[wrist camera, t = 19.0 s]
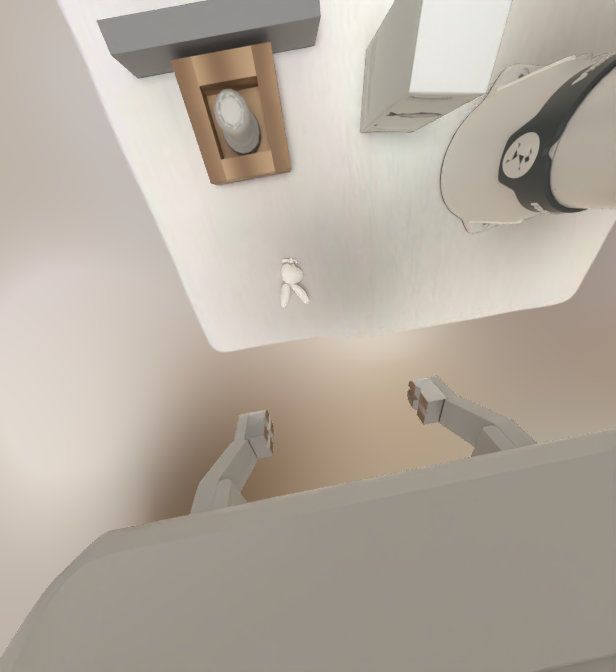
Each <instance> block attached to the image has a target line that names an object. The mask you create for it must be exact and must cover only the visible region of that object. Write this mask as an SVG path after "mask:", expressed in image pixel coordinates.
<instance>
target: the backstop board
mask: <svg viewBox="0 0 616 672" xmlns="http://www.w3.org/2000/svg"><path fill="white" fill-rule="evenodd" d="M320 17H321V15H320V3H319V0H207V1H201V2H196V3H190V4H185V5H179V6H174V7H168V8H163V9H157V10H152V11H146V12H141V13H135V14H130V15H124V16H119V17H113V18H108V19H102V20H97V23H98V25H99V28H100V30H101V32H102V35H103V37H104V39H105V42H106V44H107V47H108V49H109V51H110V54H111V55H112V56H113V57H114V58H115V59H116V60H117V61H119V62H120V63H121V64H122V65H123V66H124V67H125V68H127V69H128V70H129V71H130V72H131V73H132V74H133V75H135V76H136V77H137V78H142V77H148V76H153V75H159V74H164V73H169V72H174V69H173V66H172V63H171V60H175V59H181V58H186V57H191V56H197V55H202V54H208V53H213V52H218V51H224V50H229V49H235V48H240V47H246V46H251V45H256V44H262V43H267V42H271V47H272V53H278V52H283V51H288V50H294V49H299V48H305V47H310V46H314V44H315V40H316V35H317V31H318V26H319V21H320Z"/></svg>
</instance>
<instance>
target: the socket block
mask: <svg viewBox="0 0 616 672" xmlns="http://www.w3.org/2000/svg"><path fill="white" fill-rule="evenodd" d="M171 63H172V66H173V69H174V72H175V75H176V78H177V82H178V85H179V88H180V91H181V94H182V97H183V100H184V103H185V106H186V109H187V112H188V115H189V118H190V121H191V124H192V127H193V130H194V133H195V136H196V139H197V142H198V145H199V148H200V151H201V154H202V158H203V161H204V164H205V167H206V170H207V173H208V176H209V179H210V182H211V183H212V184H215V185H222V184H227V183H232V182H238V181H243V180H248V179H254V178H259V177H264V176H269V175H275V174H280V173H285V172H290V170H291V165H290V159H289V153H288V147H287V141H286V134H285V128H284V122H283V116H282V109H281V103H280V97H279V91H278V85H277V78H276V72H275V66H274V60H273V54H272V47H271V42H267V43H262V44H256V45H251V46H246V47H240V48H235V49H229V50H224V51H218V52H213V53H208V54H202V55H197V56H191V57H186V58H181V59H175V60H171ZM224 89H232V90H234V91H237V92H238V93H239V94H240V95H241V96H242V97H243V98H244V100H245V102H246V103H247V105H248V108H249V110H250V111H251V112H252V113H253V114H254V116H255V117H256V119H257V121H258V123H259V125H260V131H261V142H260V146H259V147H258V149H257V151H256V152H255V153H253V154H248V155H243V156H241V155H238V154H236V153H235V152H234V151H233V150H231V149H230V147H229V145H228V144H227V142H226V140H225V138H224V135H223V131H222V129H221V128H220V126H219V125H218V123H217V121H216V118H215V114H214V102H215V99H216V97H217V94H219V93H220V92H221V91H222V90H224Z"/></svg>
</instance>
